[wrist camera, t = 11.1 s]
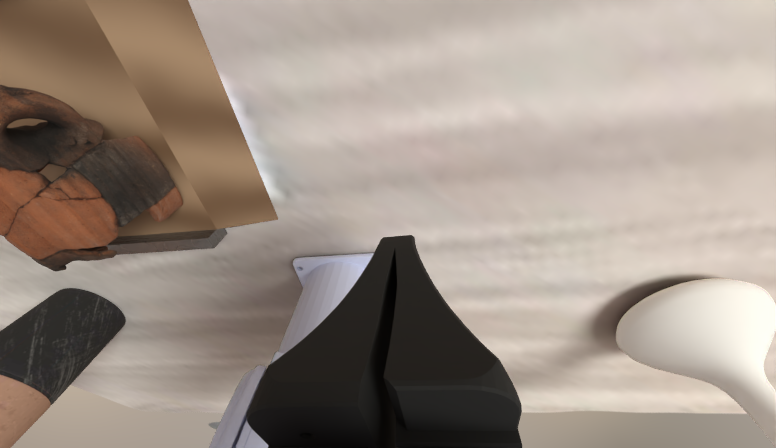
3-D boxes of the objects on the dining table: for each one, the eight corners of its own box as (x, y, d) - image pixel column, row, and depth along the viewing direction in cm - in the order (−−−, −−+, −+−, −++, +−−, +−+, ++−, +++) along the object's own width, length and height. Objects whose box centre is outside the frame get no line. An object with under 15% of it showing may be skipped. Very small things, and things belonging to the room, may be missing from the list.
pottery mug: (205, 232, 24) (89, 304, 19) (137, 177, 26) (16, 228, 21) (140, 96, 15) (-118, 164, 10) (44, 28, 17) (-209, 55, 12)
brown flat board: (281, 214, 24) (274, 224, 22) (78, 230, 26) (61, 241, 25) (179, -41, 15) (157, -47, 14) (-114, 20, 17) (-158, 19, 16)
